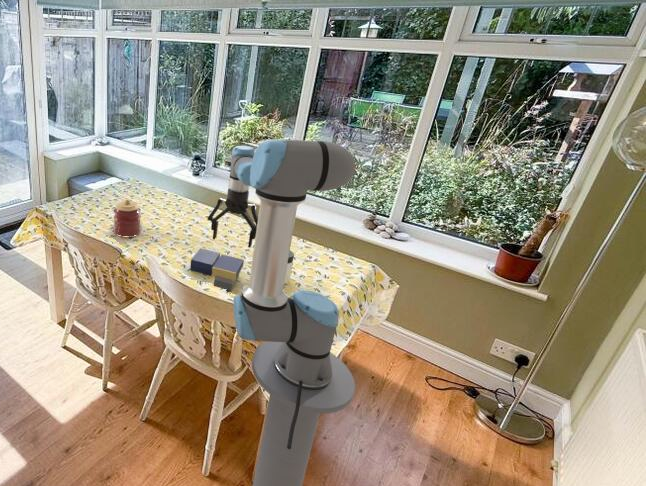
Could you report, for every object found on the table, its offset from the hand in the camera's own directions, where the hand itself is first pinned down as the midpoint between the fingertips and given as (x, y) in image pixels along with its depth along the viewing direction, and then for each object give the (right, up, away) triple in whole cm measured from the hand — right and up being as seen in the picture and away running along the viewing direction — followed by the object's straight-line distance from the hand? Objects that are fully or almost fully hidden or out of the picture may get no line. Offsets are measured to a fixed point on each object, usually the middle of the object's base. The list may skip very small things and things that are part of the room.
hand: (231, 242), depth 156 cm
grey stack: (-1, -16, +5) cm, 17 cm away
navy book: (-1, -11, +4) cm, 12 cm away
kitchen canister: (-41, 0, +45) cm, 61 cm away
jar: (+21, -16, +8) cm, 27 cm away
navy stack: (-8, -12, +16) cm, 21 cm away
